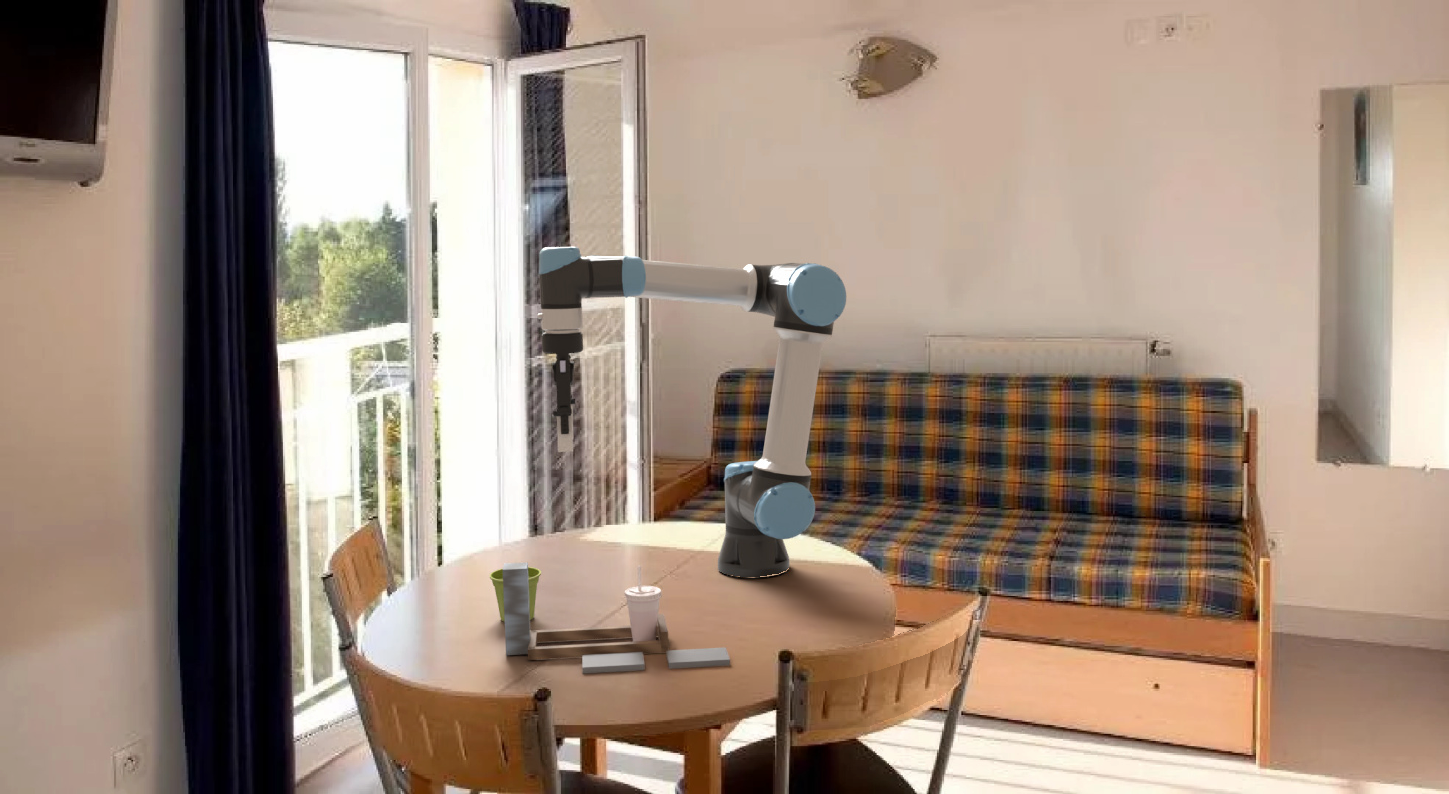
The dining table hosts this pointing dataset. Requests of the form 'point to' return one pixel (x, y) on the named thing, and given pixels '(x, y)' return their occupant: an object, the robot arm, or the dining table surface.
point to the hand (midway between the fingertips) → (566, 445)
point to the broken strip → (636, 660)
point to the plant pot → (498, 584)
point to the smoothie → (643, 610)
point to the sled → (526, 640)
